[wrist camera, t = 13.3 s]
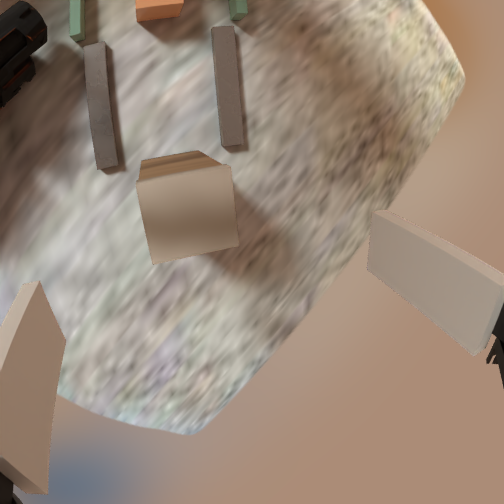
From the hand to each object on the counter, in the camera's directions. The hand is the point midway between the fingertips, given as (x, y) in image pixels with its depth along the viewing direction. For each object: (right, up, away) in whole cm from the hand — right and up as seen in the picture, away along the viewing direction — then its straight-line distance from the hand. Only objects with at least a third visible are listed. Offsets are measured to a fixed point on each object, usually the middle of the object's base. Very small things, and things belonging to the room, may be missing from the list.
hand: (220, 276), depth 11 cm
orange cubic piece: (-8, +24, +10) cm, 28 cm away
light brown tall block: (-6, +8, +18) cm, 21 cm away
